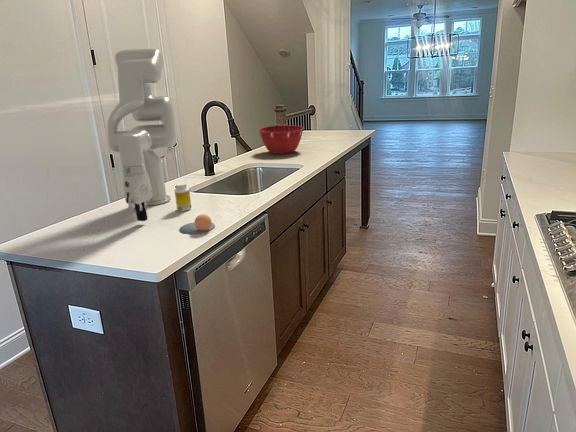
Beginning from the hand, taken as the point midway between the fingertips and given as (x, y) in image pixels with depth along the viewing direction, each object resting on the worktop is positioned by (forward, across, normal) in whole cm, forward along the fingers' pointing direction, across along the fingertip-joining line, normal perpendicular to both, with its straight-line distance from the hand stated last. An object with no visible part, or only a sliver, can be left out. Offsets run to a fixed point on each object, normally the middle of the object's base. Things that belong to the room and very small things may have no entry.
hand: (142, 220), depth 157 cm
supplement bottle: (+2, +19, -6) cm, 20 cm away
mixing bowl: (+2, +139, -4) cm, 139 cm away
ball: (-1, -2, -26) cm, 26 cm away
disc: (+2, 0, -22) cm, 22 cm away
